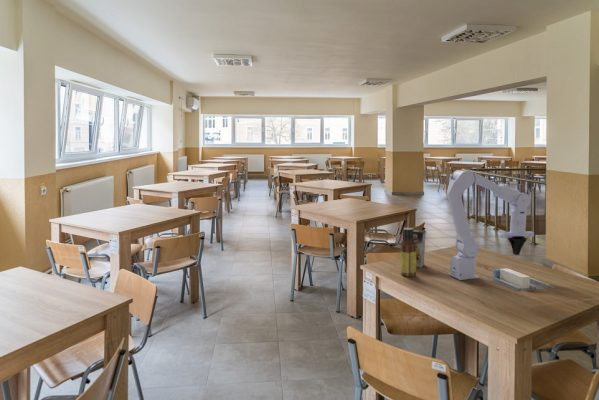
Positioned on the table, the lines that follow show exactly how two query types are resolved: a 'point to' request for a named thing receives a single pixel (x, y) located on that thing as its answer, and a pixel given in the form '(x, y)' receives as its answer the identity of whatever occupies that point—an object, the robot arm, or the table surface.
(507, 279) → the cream rectangular block
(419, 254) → the coffee box
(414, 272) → the sauce bottle
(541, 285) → the board
